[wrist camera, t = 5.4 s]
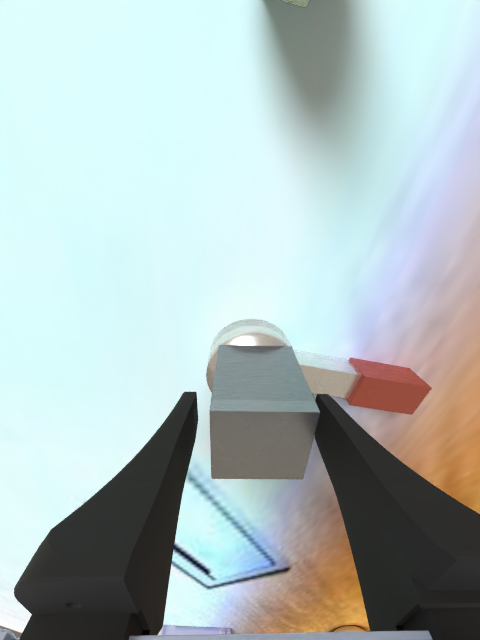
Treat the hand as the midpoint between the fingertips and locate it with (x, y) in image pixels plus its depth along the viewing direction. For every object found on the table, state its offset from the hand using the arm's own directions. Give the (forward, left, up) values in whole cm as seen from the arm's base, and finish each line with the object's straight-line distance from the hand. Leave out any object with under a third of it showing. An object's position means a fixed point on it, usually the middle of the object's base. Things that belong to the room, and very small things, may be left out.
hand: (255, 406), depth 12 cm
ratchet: (-5, 0, -5) cm, 7 cm away
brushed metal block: (0, 0, -2) cm, 2 cm away
